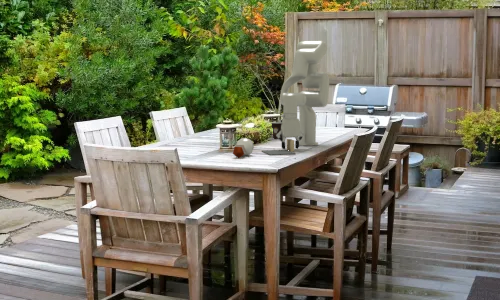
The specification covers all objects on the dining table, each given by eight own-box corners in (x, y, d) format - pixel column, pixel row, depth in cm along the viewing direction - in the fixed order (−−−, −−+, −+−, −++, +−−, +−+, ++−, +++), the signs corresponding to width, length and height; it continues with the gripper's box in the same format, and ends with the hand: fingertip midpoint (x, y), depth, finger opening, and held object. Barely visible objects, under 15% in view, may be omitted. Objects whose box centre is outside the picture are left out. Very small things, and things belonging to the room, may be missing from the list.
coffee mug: (268, 138, 451) (268, 122, 450) (279, 137, 456) (279, 121, 455) (280, 140, 442) (280, 124, 440) (290, 139, 447) (290, 123, 445)
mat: (261, 151, 388) (261, 150, 388) (286, 150, 392) (286, 149, 392) (270, 155, 373) (270, 154, 373) (295, 154, 376) (295, 153, 376)
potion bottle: (250, 157, 378) (241, 164, 364) (235, 146, 379) (226, 153, 365) (259, 143, 374) (251, 150, 360) (244, 132, 375) (235, 138, 361)
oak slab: (286, 149, 395) (286, 139, 395) (290, 149, 396) (290, 139, 395) (290, 151, 389) (290, 140, 388) (294, 151, 389) (294, 140, 388)
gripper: (277, 117, 384) (277, 150, 386) (307, 116, 388) (307, 149, 391) (273, 116, 391) (273, 148, 393) (303, 115, 396) (303, 147, 398)
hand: (290, 148), depth 392 cm, fingers open, 6 cm apart
